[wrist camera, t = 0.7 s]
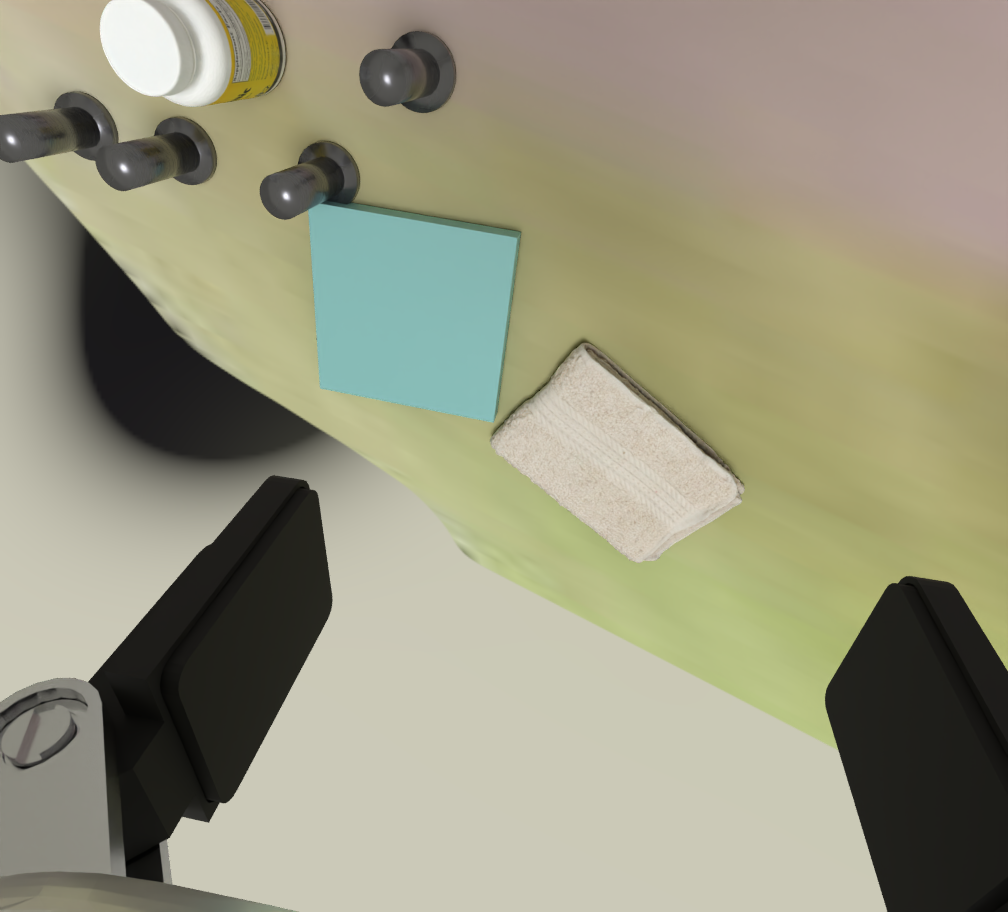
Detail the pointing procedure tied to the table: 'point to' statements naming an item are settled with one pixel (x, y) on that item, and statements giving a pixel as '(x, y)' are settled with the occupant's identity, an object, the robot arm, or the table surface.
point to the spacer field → (190, 152)
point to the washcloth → (616, 457)
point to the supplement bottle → (194, 48)
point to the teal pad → (412, 307)
